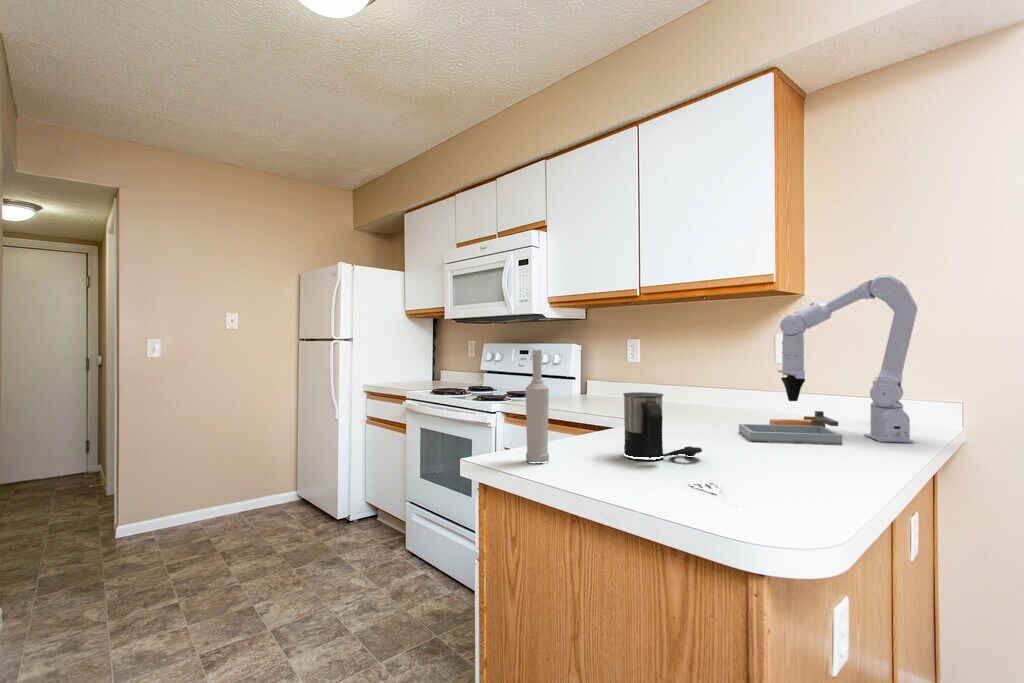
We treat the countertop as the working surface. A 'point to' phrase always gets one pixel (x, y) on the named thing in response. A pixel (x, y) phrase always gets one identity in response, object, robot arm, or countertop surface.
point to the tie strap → (825, 419)
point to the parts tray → (789, 433)
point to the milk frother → (646, 426)
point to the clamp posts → (814, 421)
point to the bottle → (537, 414)
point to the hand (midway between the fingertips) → (792, 400)
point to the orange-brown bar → (790, 422)
